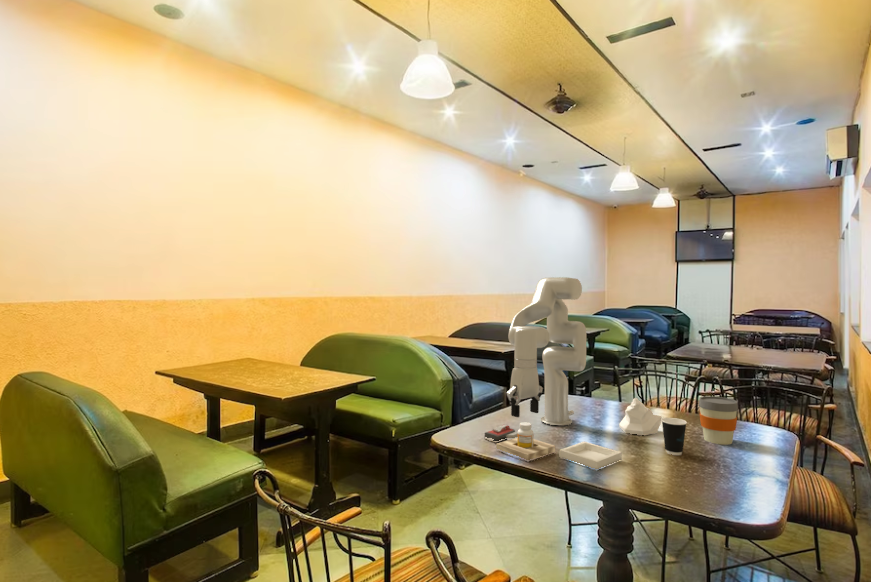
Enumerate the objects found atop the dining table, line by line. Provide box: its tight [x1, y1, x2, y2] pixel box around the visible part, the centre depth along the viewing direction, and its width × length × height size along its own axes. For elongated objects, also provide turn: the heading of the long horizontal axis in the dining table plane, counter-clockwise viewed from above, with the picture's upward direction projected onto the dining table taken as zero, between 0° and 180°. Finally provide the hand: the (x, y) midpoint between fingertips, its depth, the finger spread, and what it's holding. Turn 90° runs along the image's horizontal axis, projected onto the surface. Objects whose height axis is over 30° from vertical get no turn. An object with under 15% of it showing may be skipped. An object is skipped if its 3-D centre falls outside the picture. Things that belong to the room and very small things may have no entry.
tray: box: [558, 441, 623, 469], centre depth 156 cm, size 14×14×3 cm
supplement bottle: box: [517, 421, 535, 449], centre depth 163 cm, size 5×5×10 cm
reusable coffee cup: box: [698, 395, 739, 445], centre depth 176 cm, size 13×13×15 cm
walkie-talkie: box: [484, 424, 518, 441], centre depth 180 cm, size 9×4×20 cm
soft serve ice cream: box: [619, 397, 662, 436], centre depth 186 cm, size 12×15×14 cm
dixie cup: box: [661, 417, 688, 456], centre depth 163 cm, size 8×8×11 cm
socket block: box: [495, 438, 556, 460], centre depth 163 cm, size 14×14×2 cm
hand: (525, 414), depth 163 cm, fingers open, 9 cm apart
